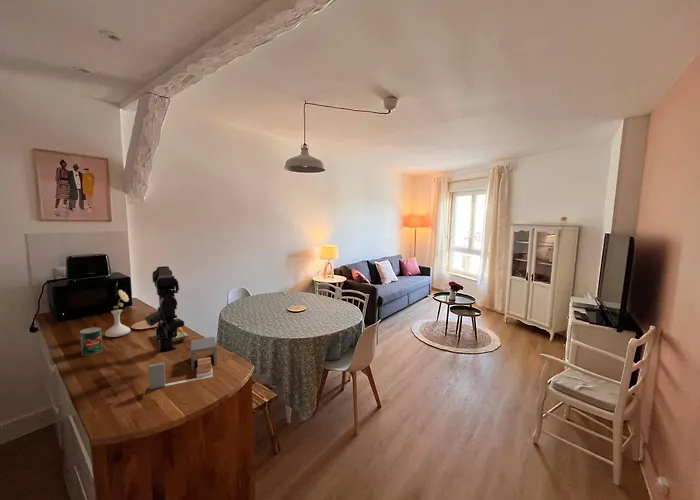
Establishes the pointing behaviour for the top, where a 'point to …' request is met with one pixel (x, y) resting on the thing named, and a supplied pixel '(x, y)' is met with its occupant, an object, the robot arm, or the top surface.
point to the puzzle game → (179, 335)
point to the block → (204, 365)
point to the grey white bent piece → (159, 376)
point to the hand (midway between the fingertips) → (168, 338)
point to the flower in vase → (118, 319)
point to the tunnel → (203, 348)
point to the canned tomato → (91, 341)
